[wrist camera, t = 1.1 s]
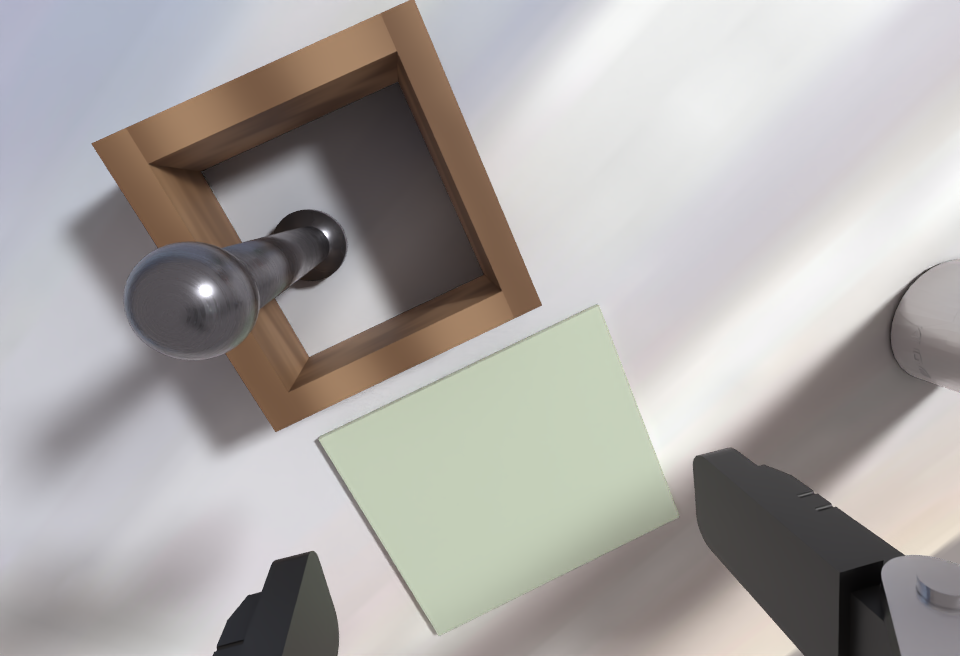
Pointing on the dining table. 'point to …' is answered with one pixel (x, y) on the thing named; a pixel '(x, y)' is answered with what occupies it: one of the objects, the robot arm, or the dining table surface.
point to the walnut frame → (279, 109)
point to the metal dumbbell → (225, 284)
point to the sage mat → (506, 471)
